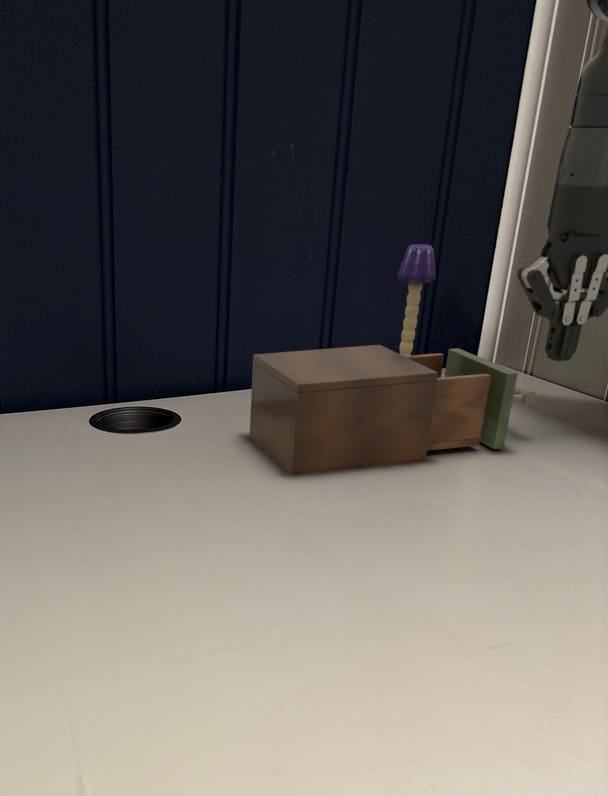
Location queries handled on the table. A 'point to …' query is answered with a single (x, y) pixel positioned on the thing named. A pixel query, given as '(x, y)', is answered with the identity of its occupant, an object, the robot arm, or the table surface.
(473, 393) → the drawer
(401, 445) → the cabinet
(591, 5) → the robot arm
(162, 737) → the table surface
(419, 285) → the toy lamp
